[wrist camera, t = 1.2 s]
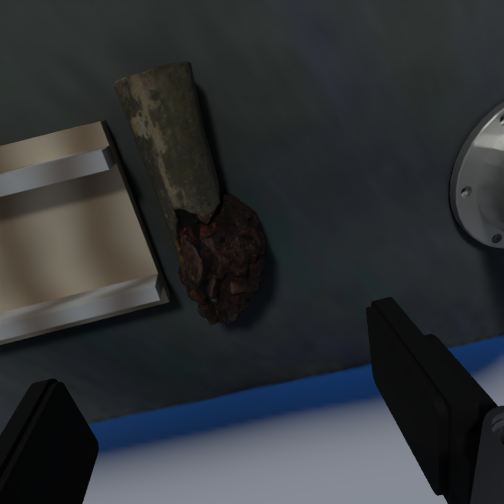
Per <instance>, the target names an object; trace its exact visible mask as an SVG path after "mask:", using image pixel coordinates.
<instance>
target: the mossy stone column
mask: <svg viewBox="0 0 504 504" xmlns="http://www.w3.org/2000/svg"><path fill="white" fill-rule="evenodd" d="M113 87H114V88H115V89H116V92H117V94H118V97H119V99H120V102H121V104H122V107H123V109H124V112H125V115H126V117H127V120H128V122H129V125H130V127H131V130H132V132H133V135H134V138H135V141H136V144H137V146H138V149H139V152H140V154H141V157H142V159H143V161H144V164H145V166H146V169H147V172H148V174H149V177H150V180H151V182H152V185H153V187H154V190H155V193H156V195H157V198H158V201H159V204H160V206H161V209H162V212H163V214H164V217H165V220H166V223H167V226H168V228H169V231H170V233H171V236H172V239H173V242H174V245H175V248H176V251H177V255H178V259H179V263H180V268H179V271H178V273H179V277H180V280H181V282H182V284H184V285H185V286H186V289H187V293H188V297H189V298H191V300H193V301H196V302H197V303H198V304H199V305H198V312H199V314H200V315H201V316H202V317H204V318H207V320H208V322H209V324H210V325H213V324H216V323H217V322H218V321H219V322H220V323H221V322H222V321H223V322H228V324H229V323H231V322H233V321H235V320H236V319H237V318H238V317H239V313H240V312H241V311H242V310H243V309H245V308H246V307H247V306H248V305H250V303H249V299H250V296H251V295H253V294H254V293H256V292H257V291H258V288H259V286H260V283H261V282H262V281H261V280H262V278H263V270H264V267H265V262H266V259H265V257H266V251H265V244H266V241H265V237H264V234H263V233H262V231H261V227H260V222H259V220H258V215H257V213H256V212H255V211H254V210H252V209H251V208H250V207H249V206H247V205H246V204H245V203H243V202H241V201H240V200H239V199H238V198H237V197H236V196H234V195H228V194H224V193H220V189H219V182H218V178H217V174H216V170H215V166H214V162H213V158H212V154H211V150H210V146H209V143H208V140H207V137H206V134H205V131H204V126H203V120H202V114H201V109H200V104H199V100H198V96H197V91H196V86H195V81H194V77H193V72H192V67H191V63H189V62H180V63H174V64H169V65H165V66H160V67H156V68H153V69H150V70H147V71H144V72H142V73H139V74H133V75H131V76H128V77H124V78H121V79H119V80H117V81H116V82H115V83H114V86H113Z"/></svg>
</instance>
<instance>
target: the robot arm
mask: <svg viewBox="0 0 504 504" xmlns="http://www.w3.org/2000/svg"><path fill="white" fill-rule="evenodd" d="M450 202H451V208H452V211H453V214H454V216H455V219H456V221H457V222H458V224H459V225H460V227H461V228H462V229H463V230H464V231H465V232H466V233H467V234H468V235H470V236H471V237H472V238H474V239H476V240H478V241H479V242H481V243H483V244H485V245H488V246H490V247H494V248H503V249H504V102H502V103H501V104H499V105H498V106H496V107H495V108H494V109H493V110H492V111H491V112H490V113H489V114H487V115H486V116H485V117H484V118H483V119H482V120H481V121H480V122H479V124H478V125H477V126H476V127H475V128H474V130H473V131H472V132H471V133H470V135H469V136H468V138H467V140H466V141H465V143H464V145H463V146H462V148H461V150H460V152H459V155H458V157H457V159H456V162H455V164H454V168H453V172H452V176H451V180H450ZM366 314H367V324H368V334H369V343H370V353H371V362H372V372H373V378H374V381H375V384H376V386H377V388H378V390H379V391H380V393H381V395H382V397H383V399H384V401H385V403H386V405H387V406H388V408H389V410H390V412H391V414H392V415H393V417H394V419H395V421H396V423H397V425H398V426H399V428H400V430H401V432H402V434H403V436H404V438H405V440H406V442H407V443H408V445H409V447H410V449H411V451H412V453H413V455H414V456H415V458H416V460H417V462H418V463H419V466H420V467H421V469H422V471H423V473H424V475H425V477H426V478H427V480H428V482H429V484H430V486H431V488H432V490H433V491H434V493H435V494H436V495H437V496H438V495H443V496H444V497H445V499H446V501H447V503H448V504H504V406H499V407H498V406H497V404H496V403H495V402H494V401H493V400H492V399H491V398H490V396H489V395H488V394H487V393H486V392H485V391H484V390H483V389H482V387H481V386H480V385H479V384H478V383H477V382H476V381H475V379H474V378H473V377H471V375H470V374H469V373H468V372H467V370H466V369H465V368H464V367H463V366H462V365H461V364H460V362H459V361H457V359H456V358H455V357H454V356H453V355H452V353H451V352H450V351H449V350H448V349H447V348H446V347H445V345H444V344H443V343H442V342H441V341H440V340H439V339H438V338H437V337H436V336H435V335H433V334H429V335H425V336H424V335H423V334H422V333H421V331H420V330H419V329H418V328H417V327H416V325H415V324H414V323H413V322H412V321H411V319H410V318H409V317H408V316H407V315H406V313H405V312H404V311H403V310H402V309H401V307H400V306H399V305H398V304H397V303H396V301H395V300H394V299H393V298H392V297H388V298H384V299H380V300H376V301H372V303H371V307H368V308H366ZM98 449H99V447H98V441H97V439H96V438H95V436H94V434H93V432H92V431H91V429H90V427H89V426H88V424H87V422H86V421H85V419H84V417H83V415H82V414H81V412H80V410H79V409H78V407H77V405H76V404H75V402H74V400H73V399H72V397H71V395H70V394H69V392H68V390H67V388H66V387H65V385H64V384H63V383H62V382H58V381H57V380H56V379H48V380H44V381H40V382H36V383H33V384H32V385H31V386H30V387H29V389H28V390H27V392H26V394H25V395H24V397H23V399H22V400H21V402H20V404H19V405H18V407H17V409H16V410H15V412H14V414H13V415H12V417H11V419H10V420H9V422H8V424H7V425H6V427H5V429H4V430H3V432H2V433H1V435H0V504H82V503H83V500H84V497H85V494H86V490H87V487H88V484H89V481H90V477H91V474H92V471H93V468H94V465H95V461H96V458H97V455H98Z"/></svg>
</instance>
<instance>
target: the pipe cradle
mask: <svg viewBox="0 0 504 504" xmlns="http://www.w3.org/2000/svg"><path fill="white" fill-rule="evenodd" d="M169 300H170V292H169V289H168V287H167V284H166V281H165V279H164V276H163V273H162V271H161V268H160V265H159V263H158V260H157V257H156V255H155V252H154V249H153V247H152V244H151V241H150V239H149V236H148V233H147V231H146V228H145V225H144V223H143V220H142V217H141V215H140V212H139V209H138V207H137V204H136V201H135V199H134V196H133V193H132V191H131V188H130V186H129V183H128V180H127V178H126V175H125V172H124V170H123V167H122V164H121V162H120V159H119V156H118V154H117V151H116V148H115V146H114V143H113V140H112V138H111V135H110V132H109V130H108V127H107V124H106V122H105V120H103V121H99V122H95V123H91V124H87V125H83V126H79V127H75V128H71V129H67V130H63V131H59V132H55V133H51V134H47V135H43V136H39V137H34V138H30V139H26V140H22V141H18V142H14V143H10V144H6V145H2V146H0V345H2V344H6V343H10V342H14V341H18V340H22V339H26V338H30V337H34V336H38V335H42V334H45V333H49V332H53V331H57V330H61V329H65V328H69V327H73V326H77V325H81V324H85V323H89V322H93V321H97V320H101V319H105V318H109V317H113V316H117V315H121V314H125V313H129V312H133V311H136V310H140V309H144V308H148V307H152V306H156V305H160V304H164V303H168V302H169Z"/></svg>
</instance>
